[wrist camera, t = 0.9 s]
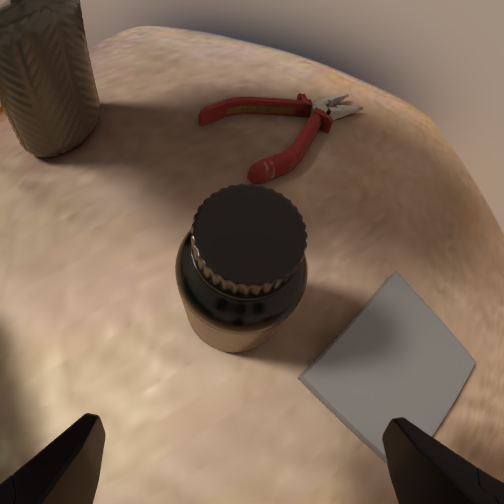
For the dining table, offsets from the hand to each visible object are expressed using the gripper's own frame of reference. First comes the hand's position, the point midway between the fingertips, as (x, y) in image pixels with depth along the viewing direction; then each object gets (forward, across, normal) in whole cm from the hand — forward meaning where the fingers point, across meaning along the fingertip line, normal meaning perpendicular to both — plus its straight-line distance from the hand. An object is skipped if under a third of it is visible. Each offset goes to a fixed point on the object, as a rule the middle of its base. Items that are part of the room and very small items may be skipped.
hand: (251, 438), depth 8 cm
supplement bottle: (+15, 0, +4) cm, 16 cm away
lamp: (+28, +21, -9) cm, 36 cm away
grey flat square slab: (+11, -13, +8) cm, 19 cm away
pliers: (+30, -6, -10) cm, 32 cm away
